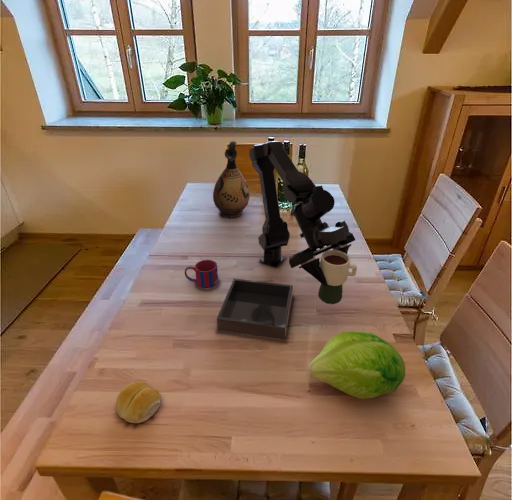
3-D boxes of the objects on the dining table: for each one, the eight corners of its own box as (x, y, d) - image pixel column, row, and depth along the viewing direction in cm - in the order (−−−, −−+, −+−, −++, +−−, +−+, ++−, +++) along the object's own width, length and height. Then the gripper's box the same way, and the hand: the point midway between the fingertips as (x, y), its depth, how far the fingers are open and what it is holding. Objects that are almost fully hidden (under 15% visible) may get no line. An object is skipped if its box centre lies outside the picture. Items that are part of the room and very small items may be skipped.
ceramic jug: (249, 221, 147) (248, 148, 131) (212, 220, 147) (206, 148, 131) (250, 204, 161) (249, 137, 146) (216, 204, 162) (212, 137, 146)
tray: (234, 291, 107) (233, 278, 104) (292, 298, 104) (293, 285, 102) (217, 332, 92) (216, 318, 90) (284, 341, 89) (285, 327, 87)
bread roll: (139, 381, 79) (135, 369, 77) (167, 401, 75) (165, 388, 73) (107, 409, 73) (103, 397, 71) (137, 432, 69) (133, 420, 67)
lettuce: (303, 356, 85) (307, 313, 78) (386, 356, 85) (398, 313, 78) (311, 414, 72) (317, 370, 65) (410, 415, 72) (427, 370, 65)
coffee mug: (349, 291, 96) (357, 251, 89) (351, 309, 90) (359, 267, 83) (309, 287, 98) (313, 247, 91) (308, 304, 92) (313, 263, 85)
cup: (216, 291, 107) (214, 272, 103) (183, 289, 108) (181, 270, 104) (220, 278, 113) (219, 260, 109) (189, 276, 114) (187, 258, 110)
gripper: (299, 223, 80) (329, 287, 78) (355, 203, 89) (383, 260, 87) (276, 239, 89) (302, 296, 87) (329, 219, 98) (353, 270, 97)
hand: (336, 280), depth 89 cm, fingers closed on coffee mug, 7 cm apart
